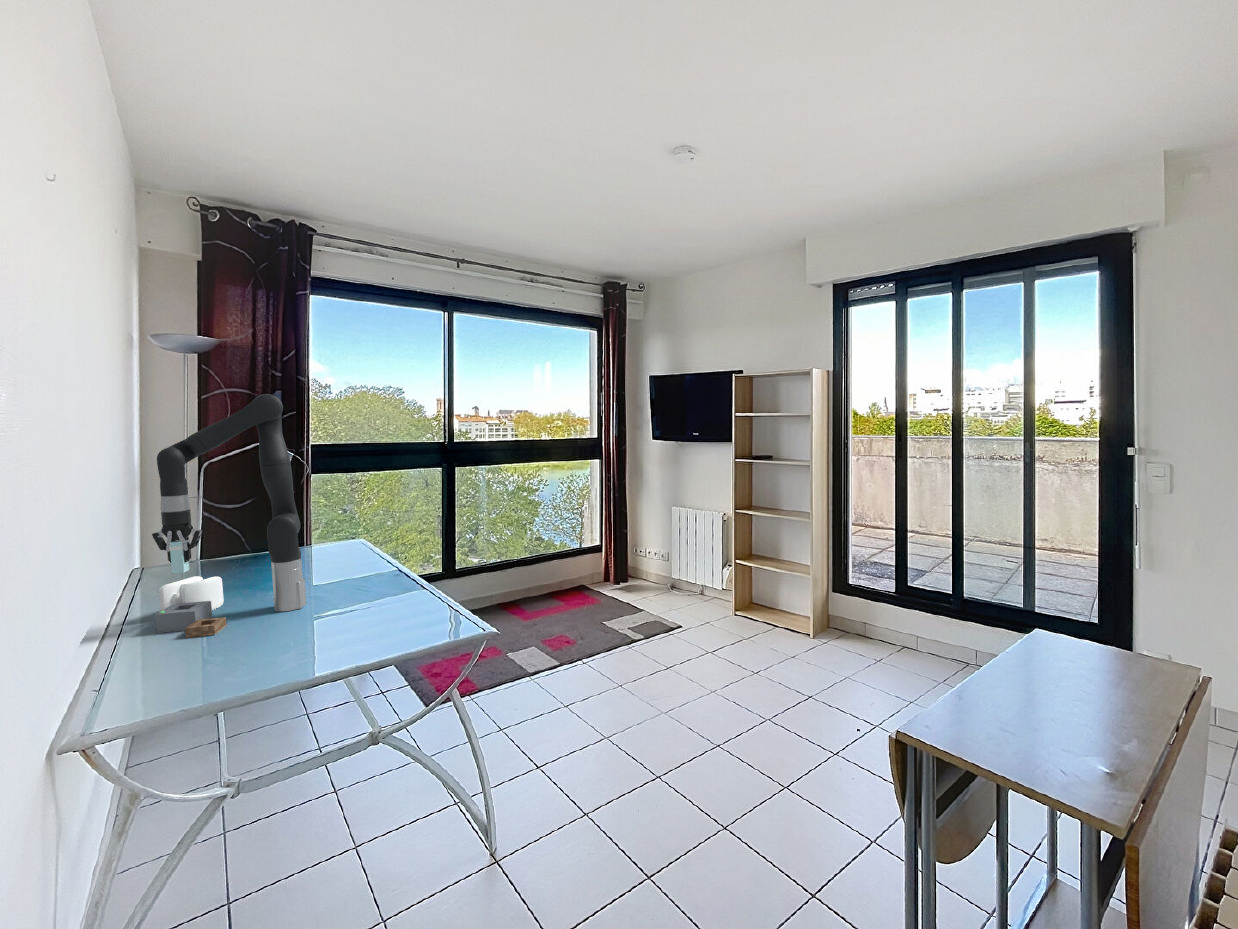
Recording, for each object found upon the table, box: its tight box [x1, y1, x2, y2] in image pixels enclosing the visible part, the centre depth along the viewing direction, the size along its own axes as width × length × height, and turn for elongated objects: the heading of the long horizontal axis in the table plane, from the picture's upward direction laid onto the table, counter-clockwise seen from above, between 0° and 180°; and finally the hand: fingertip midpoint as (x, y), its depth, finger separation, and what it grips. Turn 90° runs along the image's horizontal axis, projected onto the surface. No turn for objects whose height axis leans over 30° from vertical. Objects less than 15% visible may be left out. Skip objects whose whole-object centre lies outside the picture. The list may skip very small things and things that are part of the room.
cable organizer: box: [158, 575, 225, 612], centre depth 201 cm, size 15×11×12 cm
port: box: [154, 601, 213, 634], centre depth 189 cm, size 11×11×6 cm
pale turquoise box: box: [170, 540, 190, 574], centre depth 187 cm, size 4×4×10 cm
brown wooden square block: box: [184, 616, 227, 639], centre depth 182 cm, size 8×8×3 cm
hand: (179, 561), depth 187 cm, fingers closed on pale turquoise box, 3 cm apart
